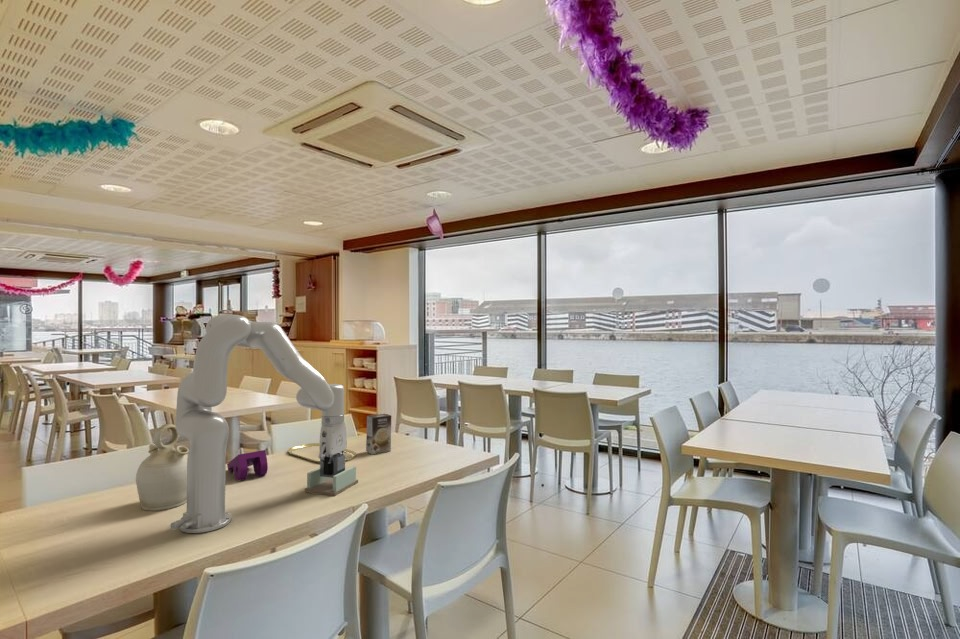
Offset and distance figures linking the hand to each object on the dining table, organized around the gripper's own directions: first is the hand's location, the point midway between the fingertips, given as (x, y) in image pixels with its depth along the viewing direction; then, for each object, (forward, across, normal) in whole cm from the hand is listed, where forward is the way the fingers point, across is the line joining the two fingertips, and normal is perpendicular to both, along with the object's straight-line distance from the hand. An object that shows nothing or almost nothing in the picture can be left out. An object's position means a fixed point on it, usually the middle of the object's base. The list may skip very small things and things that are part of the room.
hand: (332, 471), depth 168 cm
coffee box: (+6, +46, +8) cm, 47 cm away
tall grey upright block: (+1, 0, 0) cm, 1 cm away
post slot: (+5, 0, 0) cm, 5 cm away
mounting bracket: (+6, +2, +40) cm, 40 cm away
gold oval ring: (+6, +34, +29) cm, 45 cm away
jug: (+5, -30, +40) cm, 50 cm away
